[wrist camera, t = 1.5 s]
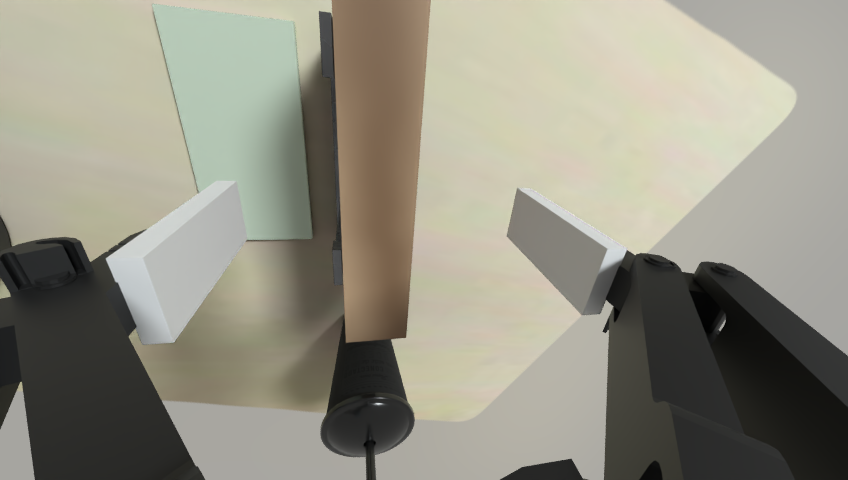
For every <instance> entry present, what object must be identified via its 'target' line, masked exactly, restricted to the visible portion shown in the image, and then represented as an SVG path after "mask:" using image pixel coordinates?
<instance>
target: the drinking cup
mask: <svg viewBox="0 0 848 480" xmlns="http://www.w3.org/2000/svg"><path fill="white" fill-rule="evenodd" d="M414 421H415V418H414V413H413V409H412V407H411V406H410V404H409V403H408V402H407V398H406V394H405V390H404V387H403V383H402V379H401V375H400V372H399V368H398V364H397V361H396V357H395V353H394V349H393V346H392V342H391V339H384V340H372V341H360V342H349V343H346V333H345V316H344V320H343V326H342V331H341V337H340V342H339V348H338V353H337V359H336V364H335V370H334V376H333V381H332V387H331V392H330V398H329V403H328V409H327V414H326V416H325V418H324V420H323V422H322V425H321V439H322V442H323V443H324V445H325V446H326V447H327V448H328V449H329V450H331V451H332V452H334V453H337V454H339V455H343V456H348V457H366V480H376V470H375V455H376V454H380V453H383V452H386V451H388V450H390V449H392V448H394V447H396V446H397V445H399V444H400V443H401V442H403V441H404V440H405V439H406V438H407V437H408V436H409V434H410V433H411V431H412V429H413V426H414Z"/></svg>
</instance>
